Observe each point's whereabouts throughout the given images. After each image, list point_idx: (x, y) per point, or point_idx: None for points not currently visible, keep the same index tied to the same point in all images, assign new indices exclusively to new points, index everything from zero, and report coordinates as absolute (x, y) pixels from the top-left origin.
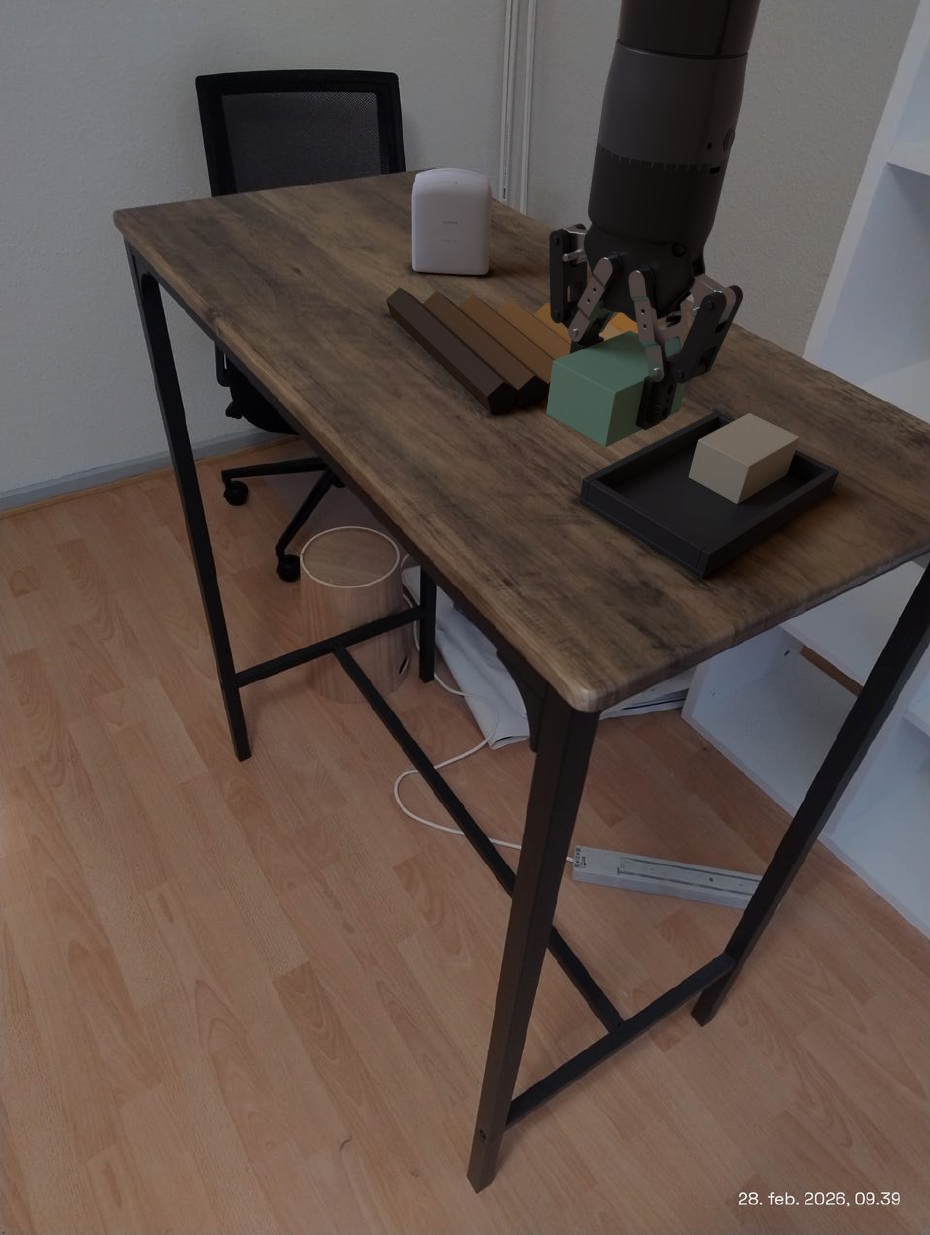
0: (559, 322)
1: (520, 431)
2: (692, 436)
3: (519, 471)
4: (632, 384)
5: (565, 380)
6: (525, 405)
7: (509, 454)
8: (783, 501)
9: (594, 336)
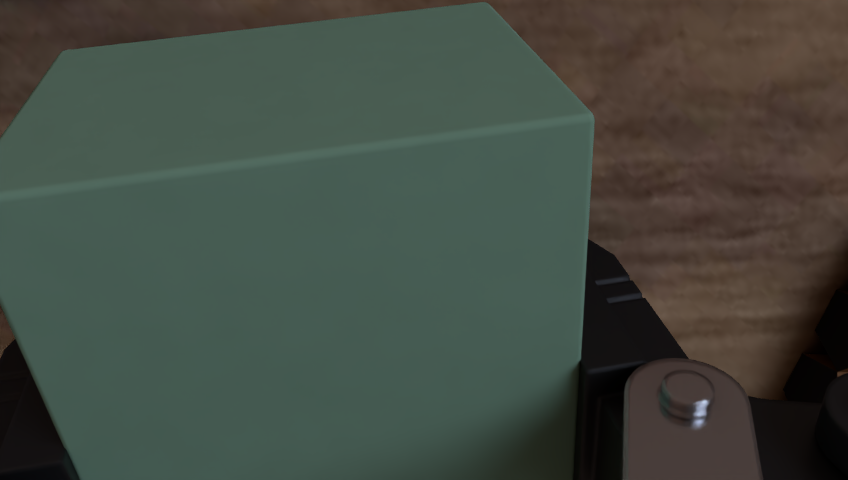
0: (834, 387)
1: (781, 235)
2: None
3: (680, 137)
4: (34, 365)
5: (433, 96)
6: (834, 299)
7: (742, 159)
8: None
9: (603, 474)
